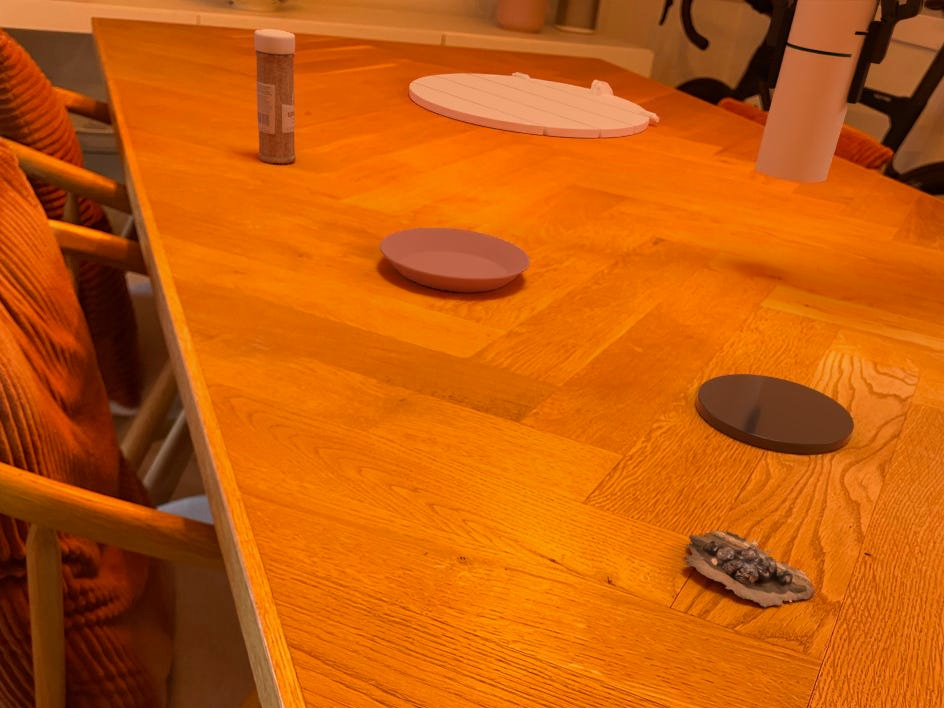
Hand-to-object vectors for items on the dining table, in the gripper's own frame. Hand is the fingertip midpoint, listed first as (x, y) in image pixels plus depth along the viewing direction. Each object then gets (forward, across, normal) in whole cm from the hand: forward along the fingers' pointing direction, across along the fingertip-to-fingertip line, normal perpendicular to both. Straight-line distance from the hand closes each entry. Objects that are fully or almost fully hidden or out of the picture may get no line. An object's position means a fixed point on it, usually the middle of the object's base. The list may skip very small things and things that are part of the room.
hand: (812, 93), depth 95 cm
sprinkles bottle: (+16, -59, -5) cm, 62 cm away
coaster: (+17, +10, -36) cm, 41 cm away
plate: (+17, -24, -25) cm, 39 cm away
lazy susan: (+16, -52, +55) cm, 78 cm away
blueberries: (+17, +14, -59) cm, 63 cm away
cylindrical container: (+7, 0, 0) cm, 7 cm away
